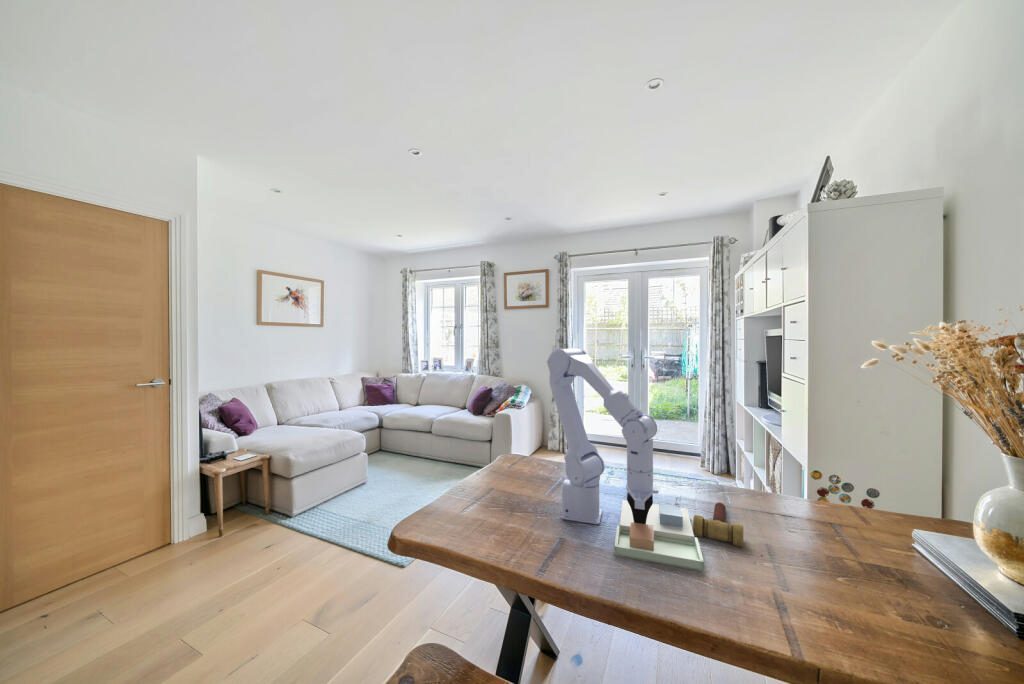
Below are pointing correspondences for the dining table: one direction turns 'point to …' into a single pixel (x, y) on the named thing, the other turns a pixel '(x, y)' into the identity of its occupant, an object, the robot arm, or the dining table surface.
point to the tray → (662, 551)
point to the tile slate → (670, 515)
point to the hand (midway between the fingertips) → (639, 526)
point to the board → (659, 529)
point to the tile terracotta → (641, 536)
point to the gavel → (718, 527)
